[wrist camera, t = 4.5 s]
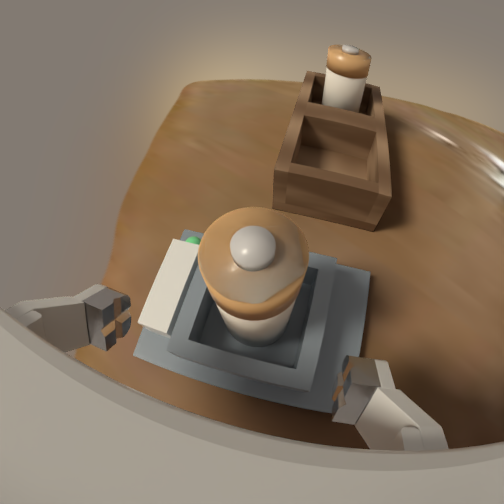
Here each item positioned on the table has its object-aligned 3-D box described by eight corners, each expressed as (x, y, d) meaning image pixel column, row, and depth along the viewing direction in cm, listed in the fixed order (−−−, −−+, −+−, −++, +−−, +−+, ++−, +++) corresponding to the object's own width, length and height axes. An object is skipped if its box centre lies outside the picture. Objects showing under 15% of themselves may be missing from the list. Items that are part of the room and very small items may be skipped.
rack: (304, 101, 31) (307, 70, 27) (371, 116, 30) (379, 87, 26) (272, 208, 23) (274, 169, 19) (372, 231, 22) (391, 197, 18)
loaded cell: (343, 108, 29) (355, 41, 21) (362, 128, 27) (381, 57, 19) (312, 112, 28) (320, 40, 21) (331, 133, 27) (345, 55, 19)
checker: (187, 236, 22) (176, 209, 19) (366, 277, 20) (382, 255, 17) (138, 357, 18) (116, 348, 15) (341, 414, 15) (359, 417, 12)
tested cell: (275, 278, 19) (284, 188, 11) (298, 334, 17) (330, 275, 9) (216, 298, 19) (184, 217, 11) (236, 356, 17) (212, 317, 9)
